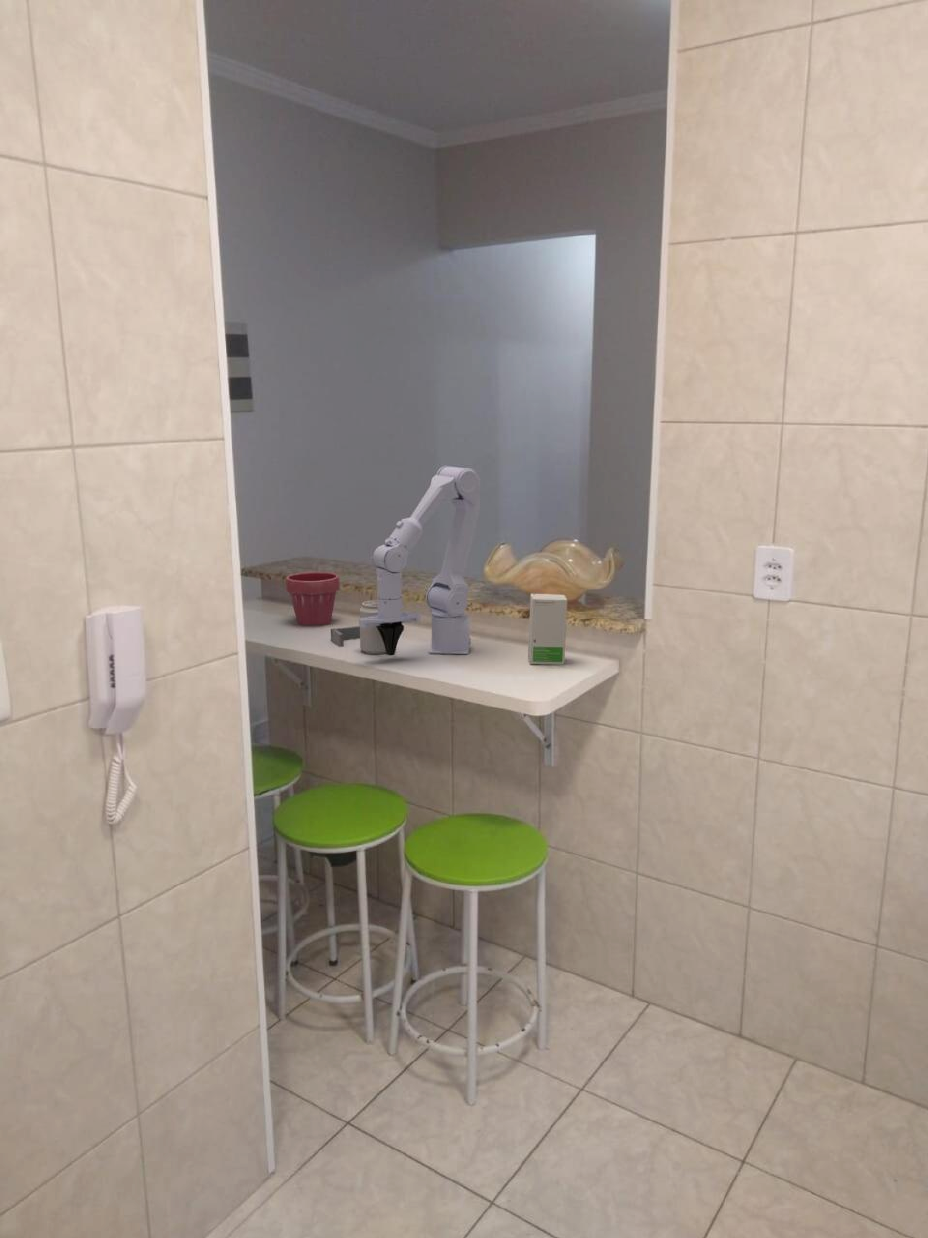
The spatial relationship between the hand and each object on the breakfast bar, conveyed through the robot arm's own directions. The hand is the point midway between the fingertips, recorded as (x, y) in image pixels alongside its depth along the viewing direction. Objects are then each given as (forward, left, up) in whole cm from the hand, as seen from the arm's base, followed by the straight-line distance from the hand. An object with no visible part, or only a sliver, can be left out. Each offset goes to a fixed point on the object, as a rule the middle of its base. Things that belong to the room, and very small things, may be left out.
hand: (390, 654), depth 221 cm
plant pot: (+26, -36, -2) cm, 44 cm away
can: (+5, -8, -2) cm, 9 cm away
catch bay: (+10, -17, -1) cm, 20 cm away
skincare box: (-36, -2, -2) cm, 37 cm away
